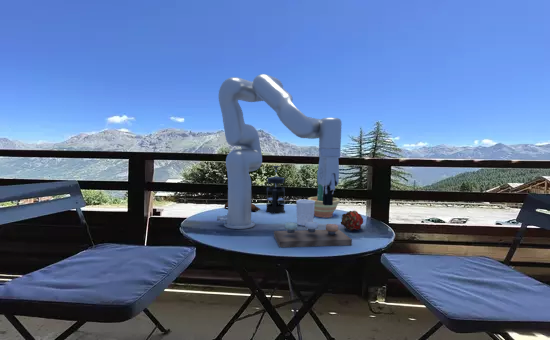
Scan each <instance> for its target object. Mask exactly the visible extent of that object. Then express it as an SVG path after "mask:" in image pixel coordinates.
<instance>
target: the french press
mask: <svg viewBox="0 0 550 340" xmlns="http://www.w3.org/2000/svg"><path fill="white" fill-rule="evenodd" d="M271 168H274V170H275V171H277V170H278V168H281V166H278V165H273V166H271ZM266 179H267V183H268V184H275V186H268V187H266V200H267V202H270V203H266V210H265V212H266V213H269V214H283V213H285V203H279V202H284V201H285V198H284V197H283V198H282V197H279V193H280V192H283V195H285V193H286V192H285V189H286V188H285V187H283V186H277V185H278V184H283V183H285V182H284V181H285V177H280V176H273V177H267V178H266ZM268 192H270V193H272V195H271V197H268ZM271 202H272V203H271Z"/></svg>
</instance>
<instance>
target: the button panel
mask: <svg viewBox="0 0 550 340" xmlns="http://www.w3.org/2000/svg"><path fill="white" fill-rule="evenodd" d="M273 237H274V240H275V241H276V243H277V246H278V247H279V248H280V247H281V248H301V247H302V248H305V247H307V248H308V247H309V248H311V247H336V246H337V247H338V246H340V247H341V246H352V245H353V243H352V242H353V239H352V238H351V237H349V236H348V235H346V233H344V232H343V231H342V230H340V229H339V228H338V231H336V232H335V235H330V234H328V231H327V230H326V229H315V232H313V233H311V232H308V229H307V230H305V229H304V230H298V229H296V230H295V232H294V233H288V232H287V230H273Z"/></svg>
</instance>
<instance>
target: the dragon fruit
mask: <svg viewBox="0 0 550 340" xmlns="http://www.w3.org/2000/svg"><path fill="white" fill-rule="evenodd" d="M363 223H364V218H363V217H362V215H361V214H360V213H359V212H358V211H357V210H349V211H347V212H346V213H343V214H342V215H341V221H340V225H342V226H343V227H344V228H345V229H346V230H348V231H350V232H353V231H354V230H356V231H358V230H359V231H360V230H361V228H362V225H363Z"/></svg>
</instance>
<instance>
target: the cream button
mask: <svg viewBox="0 0 550 340" xmlns="http://www.w3.org/2000/svg"><path fill="white" fill-rule="evenodd" d="M304 228H305V229H307V230H308V232H311V233H313V232H315V230H319V223H318V222H317V221H313V222H306V226H304Z"/></svg>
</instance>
